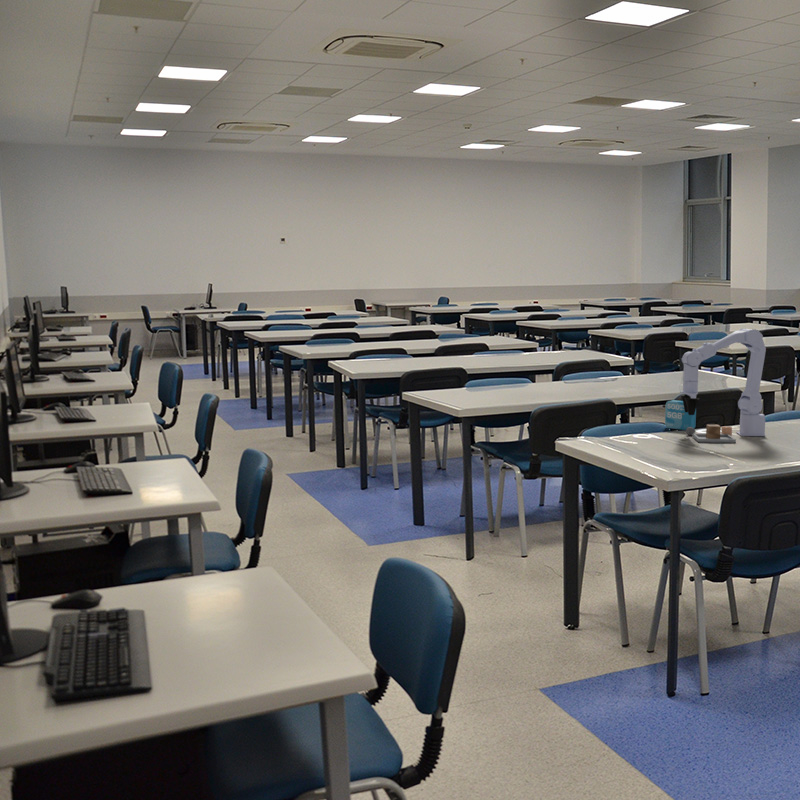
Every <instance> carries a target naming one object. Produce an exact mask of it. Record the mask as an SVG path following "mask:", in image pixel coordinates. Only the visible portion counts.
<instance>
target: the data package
mask: <svg viewBox="0 0 800 800" xmlns="http://www.w3.org/2000/svg"><path fill="white" fill-rule="evenodd" d="M664 414H665V417H664V426H665V425H666V426H665V427H666V428H667V429H674V430H681V431H686V429H687V428H688V427H693V428H694V429H695V428H696V424H697V423H696V420H697V419H696V418H697V409H696V410H695V414H694V415H689V414H688V412H685V410H684V404H683V400H675V399H672V400H668V401H666V403H665V413H664Z"/></svg>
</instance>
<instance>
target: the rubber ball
mask: <svg viewBox="0 0 800 800" xmlns="http://www.w3.org/2000/svg"><path fill="white" fill-rule="evenodd" d="M695 431H696V430H695V428H693V427H688V428H687V429H686V430H685V433H686V434H687V435H688V436H693V434H696V433H695Z"/></svg>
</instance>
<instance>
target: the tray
mask: <svg viewBox="0 0 800 800" xmlns="http://www.w3.org/2000/svg"><path fill="white" fill-rule="evenodd" d="M692 439H694V440H695V441H696V442H697V443H701V444H703V443H704V444H706V443H707V444H709V443H710V444H716V443H717V444H737V443H736V442H737V441H736V440H737V439H736V438H735V437H733V436H730V435H729V434H721V433H720V439H707V438H706V433H694V434H693V435H692Z"/></svg>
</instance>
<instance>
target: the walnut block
mask: <svg viewBox="0 0 800 800" xmlns="http://www.w3.org/2000/svg"><path fill="white" fill-rule="evenodd" d="M705 426H706V427H705V434H706V438H707V439H720V434H721V431H722V426H721V425H720V424H706V425H705Z"/></svg>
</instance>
